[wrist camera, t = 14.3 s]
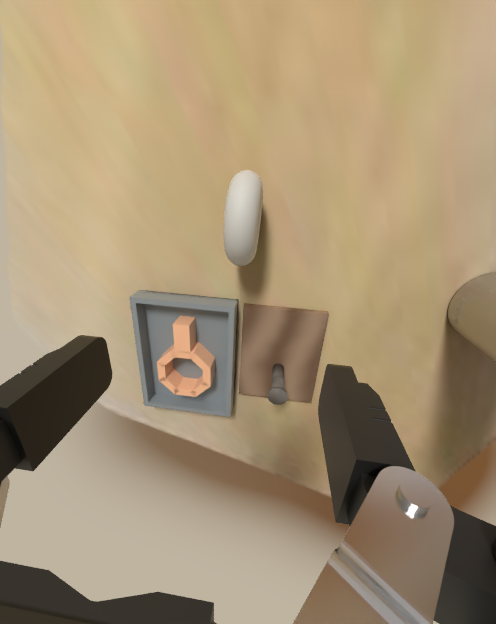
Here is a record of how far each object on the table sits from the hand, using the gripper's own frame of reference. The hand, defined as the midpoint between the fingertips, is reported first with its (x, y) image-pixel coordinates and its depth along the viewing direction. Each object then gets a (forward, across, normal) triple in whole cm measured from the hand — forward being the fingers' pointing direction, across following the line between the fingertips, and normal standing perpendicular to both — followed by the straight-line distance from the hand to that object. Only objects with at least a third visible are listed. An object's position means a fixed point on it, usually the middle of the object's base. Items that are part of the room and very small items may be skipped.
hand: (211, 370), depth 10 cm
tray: (+28, +10, +18) cm, 35 cm away
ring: (+28, +10, +18) cm, 35 cm away
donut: (+28, +2, -3) cm, 29 cm away
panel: (+28, -4, +17) cm, 33 cm away
